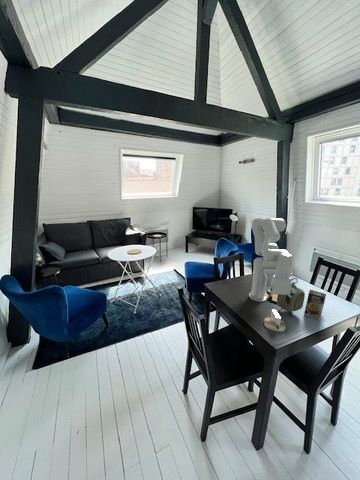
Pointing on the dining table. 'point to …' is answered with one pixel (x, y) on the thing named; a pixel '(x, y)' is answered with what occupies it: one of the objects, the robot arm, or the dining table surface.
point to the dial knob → (275, 318)
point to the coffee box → (315, 304)
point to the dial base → (271, 326)
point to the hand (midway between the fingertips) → (278, 302)
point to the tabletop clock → (291, 300)
